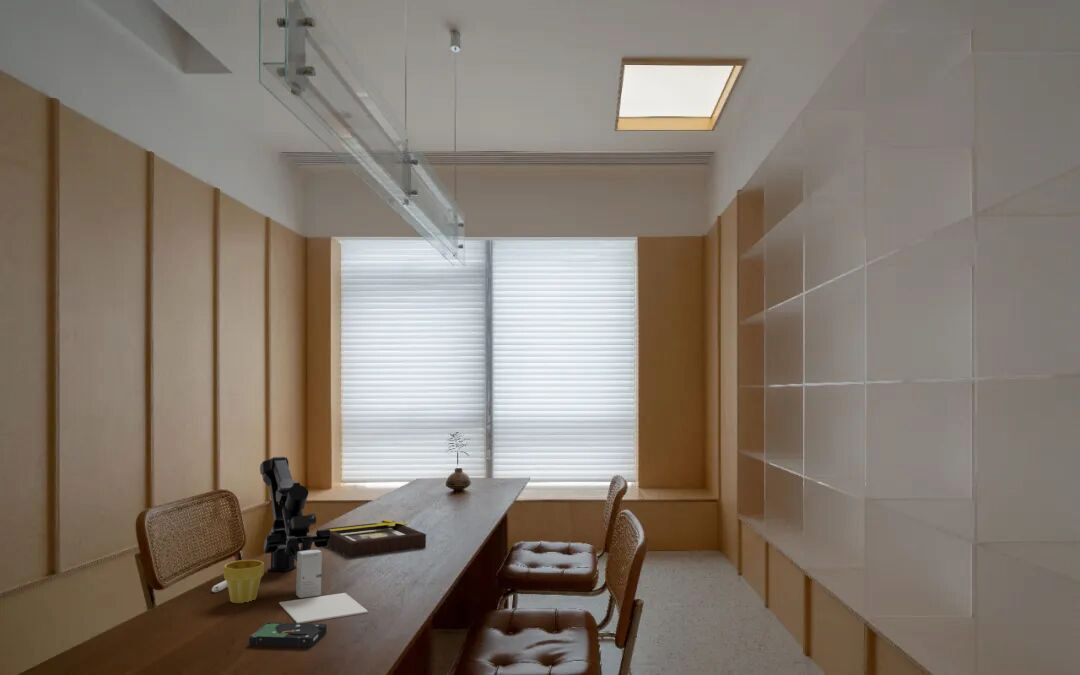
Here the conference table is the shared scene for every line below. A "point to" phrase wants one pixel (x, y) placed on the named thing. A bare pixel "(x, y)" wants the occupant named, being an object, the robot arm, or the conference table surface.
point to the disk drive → (288, 635)
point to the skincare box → (309, 573)
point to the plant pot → (243, 579)
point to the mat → (322, 608)
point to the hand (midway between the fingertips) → (302, 565)
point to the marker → (220, 586)
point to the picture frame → (376, 538)
